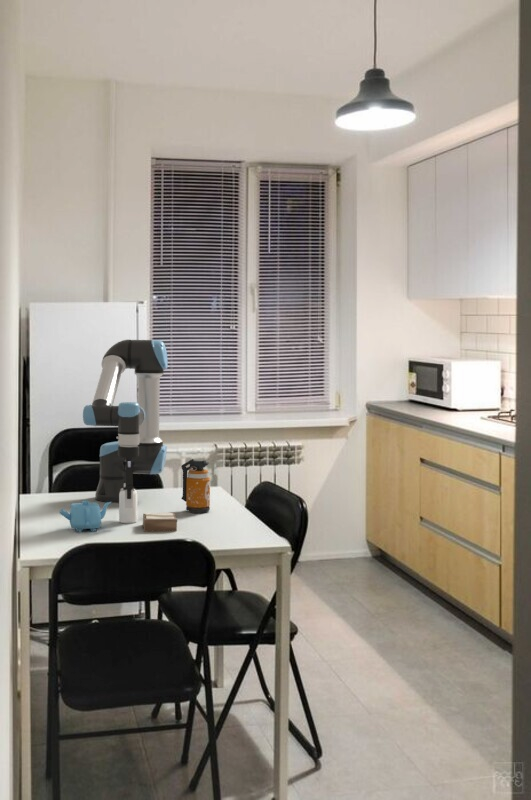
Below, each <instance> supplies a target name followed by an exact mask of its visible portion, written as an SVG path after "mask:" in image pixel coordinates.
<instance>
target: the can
mask: <svg viewBox="0 0 531 800" xmlns="http://www.w3.org/2000/svg"><path fill="white" fill-rule="evenodd" d="M118 503H119V504H118V521H119V522H120V524H125V525H126V524H127V525H128V524H135V523H137V521H138V491H137V487H133V508H125V490H123V488H121V491H120V493H119V502H118Z"/></svg>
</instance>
